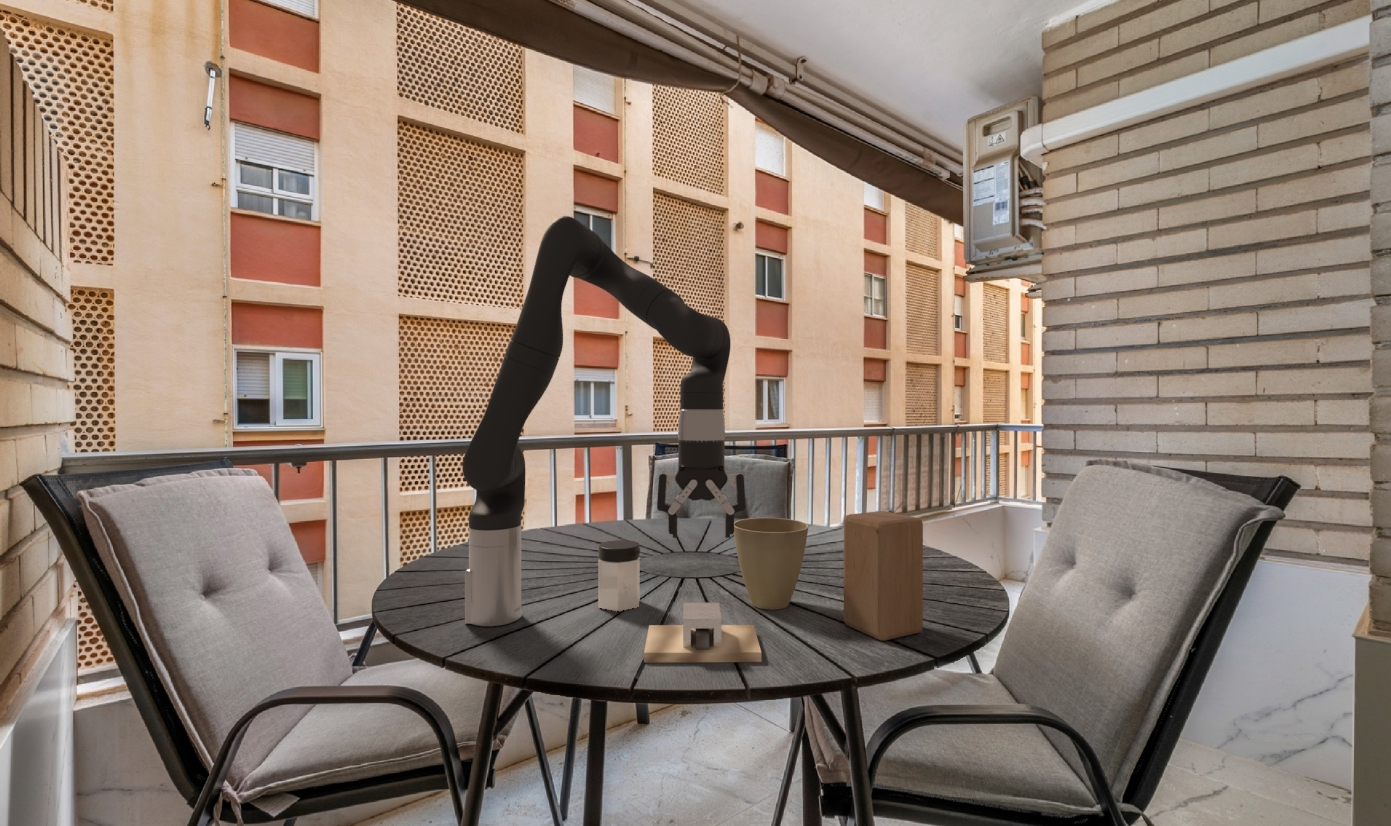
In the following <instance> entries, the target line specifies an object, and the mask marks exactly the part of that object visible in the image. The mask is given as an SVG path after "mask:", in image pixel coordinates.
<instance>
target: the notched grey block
mask: <svg viewBox="0 0 1391 826" xmlns="http://www.w3.org/2000/svg"><path fill="white" fill-rule="evenodd" d="M682 611H683V613H682V615H683V616H682V619H683V620H682V622H683V623H682V625H683V648H691V628H712V635H713V644H714V648H715V647H721V625H722V613H721V607H720V603H719V602H683V610H682Z"/></svg>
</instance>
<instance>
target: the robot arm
mask: <svg viewBox="0 0 1391 826" xmlns="http://www.w3.org/2000/svg"><path fill="white" fill-rule="evenodd" d="M534 262H535V264H534V267H533V272H532V275H531V279H530V282H529V287H528V289H527V293H526V296H525V299H524V301H523V304H522V308H521V310H520V315H519V317H518V319H517V323H516V325H515V328H514V330H513V333H512V335H511V337H510V340H509V343H508V345H507V348H506V351H505V353H504V356H503V359H502V362H501V366H500V369H499V371H498V375H497V377H496V380H495V383H494V385H493V388H492V392H491V394H490V398H489V401H488V403H487V406H486V409H485V412H484V414H483V417H482V419H481V420H480V422H479V425H478V426H477V429H476V430H475V433H474V434H473V437H472V439H471V440H470V443H469V444H468V447H467V449H466V450H465V453H464V455H463V458H462V465H461V466H462V473H463V474H462V475H463V477H464V480H465V481H466V483H467V484H468V485H469V486H470V487H471V489H473V490H476V497H475V500H474V501H475V502H474V504H473V506H472V508H471V510H470V512H468V513H469V514H468V568H467V569H466V570H465V572H464V624H471V625H474V626H478V627H479V626H480V627H495V626H496V627H498V626H503V625H504V626H505V625H508V624H512V623H513V622H517V621H518V620H520V619H521V617H522V607H523V606H522V514H523V511H524V507H525V503H526V502H525V497H526V460H525V456H524V452H523V451H522V449H521V447H520V446H519V445H518V442H519V439H520V436H521V434H522V430H523V428H524V426H525V423H526V422H527V419H528V418H529V416H530V415H531V414H532V412H533V410H534V409H535V407H536V405H538V403H539V401H540V400H541V399H542V397H543V396H544V393H545V392H546V391H547V389H548V387H549V385H550V384H551V381H552V379H553V376H554V373H555V372H556V369H557V367H558V366H557V365H558V363H559V360H560V358H561V354H562V351H563V347H564V328H563V315H562V303H563V296H564V293H565V289H566V286H567V283H568V281H569V278H570V277H572V278H576V279H579V280H582V281H584V282H586V283H589V284H591V285H594V286H596V287H597V288H600V289H601V290H603V291H605V292H607V293H608V294H610V295H611V296H613V298H614V299H616V301H618V303H620V304H621V305H622V306H623V307H624V308H625V309H626V310H628V311H629V312H630V313H631V314H632V315H634V316H635V317H637V319H639V320H641V321H642V322H643V323H645V324H646V325H648V326H649V327H650V328H652V329H654V330H656V332H658V334H659V335H660V336H661V337H662V338H663V339H664V340H665V341H666V342H667V343H668V344H669V345H670V346H671V347H672V348H674V349H675V350H676V351H677V352H679V353H681V354H683V355H685V356H687V357H691V358H692V362H691V367H690V371H689V373H687V374H685V375H683V376H682V378H681V379H680V387H679V388H680V389H679V399H680V400H679V404H680V405H679V409H680V410H679V418H678V427H677V428H678V430H677V437H678V440H677V441H678V448H677V449H678V452H677V453H678V454H677V455H678V456H677V457H678V458H677V461H678V464H677V465H678V466H677V472H676V473H675V474H674V473H673V474H671V473H666V472H663V471H662V472H660V475H659V476H658V487H657V488H658V489H657V501H656V502H657V503H656V509H657V511H660V512H664V513H666V514H667V516H668V533H669V535H672V539H678V512H677V511H678V510H679V509H680V508H681V506H682V505H683V504H684V503H685V502H686V500H687V498H688V500H691V501H700V500H702V501H712V500H714V499H716V500H717V501H718V503H719V504H720V505H721V506H722V508H723V509H724V511H725V513H724V537H725V539H730V538H731V535H734V522H735V516H736V514H737V513H739V512H744V511H745V510H746V490H745V476H744V475H743V473H742V472H736V473H730V474H729V473H728V474H727V473H726V470H725V446H726V445H725V437H726V431H725V417H724V381H725V377H726V374H727V369H728V364H729V360H730V355H731V353H730V352H731V346H732V345H731V334H730V332H729V328H728V326H727V325H726V324H725V322H724V321H722V320H721V319H719V318H717V317H715V316H711V315H707V314H704V313H701V312H699V311H697V310H695V309H694V308H692V307H691V306H689V305H688V304H687V303H685V301H684V299H683V298H682V297H681V296H680V295H679V294H678V293H676V292H675V291H673V290H672V289H670V288H669V287H667V286H665V285H664V284H663V283H661V282H660V281H658V280H656V279H655V278H653V277H651V276H650V275H648V274H645V272H642V271H641V270H638V269H636V268H635V267H632V266H631V265H630V264H628V263H627V262H625V261H624V260H623V259H621V257H620V256H618V255H617V254H616V253H615V252H614V251H613V249H612V248H610V247H609V246H608V245H607V244H606V243H605V242H604V241H603V240H602V238H601V237H600V236H599V235H598V233H596V232H595V231H594V230H592V229H590V228H589V227H588V226H586V225H585V224H583V223H582V222H580V221H579V220H577V219H576V218H574V217H572V216H570V215H563V216H559V217H557V218H555V219H554V220H553V221H552V222H551V223H550V224H549V225H548V226H547V228H546V230H545V231H544V234H543V236H542V238H541V241H540V244H539V248H538V252H537V255H536V260H535V261H534ZM673 482H675V483H676V484H677V485H678V487H679V488H680V489H681V491H680V492H679V493H678V494H677V496H676V497H675V499H674V500H673V502H672V503H670V504H669V503H667V502H666V500H667V497H666V496H667V488H669V487H671V485H672V483H673ZM727 482H730V484H731V487H733V488H735V492H736V494H735V495H736V503H733V504H732V503H730V501H729V500H728V498H727V497H726V495H725V494H724V493H723V491H722V489H723V488H724V486H725V485H726V484H727Z"/></svg>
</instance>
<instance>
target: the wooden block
mask: <svg viewBox="0 0 1391 826" xmlns="http://www.w3.org/2000/svg"><path fill="white" fill-rule="evenodd" d="M923 553H924V522H923V520H922V519H920V518H918V517H915V516H911V515H906V514H901V513H894V512H890V511H885V510H878V511H877V510H876V511H871V512H870V511H869V512H860V513H859V512H857V513H850V514H846V515H845V516H844V518H843V621H844V624H845V625H846V626H848V627H850V628H852V629H855V630H857V631H859V632H860V633H863V634H866V635H868V636H870V637H872V638H874V639H876V640H879V641H883V642H884V641H888V640H893V639H897V638H901V637H904V636H905V637H907V636H909V635H910V636H911V635H913V634H919V633H921V632H922V631H923V628H924V624H923V623H924V617H923V616H924V608H923V607H924V605H923V604H924V602H923V601H924V593H923V592H924V582H923V581H924V575H923V574H924V554H923Z"/></svg>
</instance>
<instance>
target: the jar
mask: <svg viewBox="0 0 1391 826" xmlns="http://www.w3.org/2000/svg"><path fill="white" fill-rule="evenodd" d="M640 545H641V544H640V543H639V542H637V541H634V540H627V539H625V540H624V539H623V540H621V539H619V540H618V539H617V540H609V541H608V540H607V541H604V542H602V543H599V545H598V562H597V563H598V564H597V567H598V568H597V569H598V571H597V572H598V573H597V574H598V580H597V581H598V586H597V587H598V598H597V599H598V600H597V601H598V603H597V604H598V609H600V608H602V609H601V610H605V609H607V611H611V610H612V612H617V611H619V612H623V610H624V611H628V609H629V610H633V609H632V608H634V609H638V608H639V606H640V601H641V600H640V596H641V595H640V584H641V583H640V557H641V555H640V554H641V546H640ZM637 607H638V608H637Z"/></svg>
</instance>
